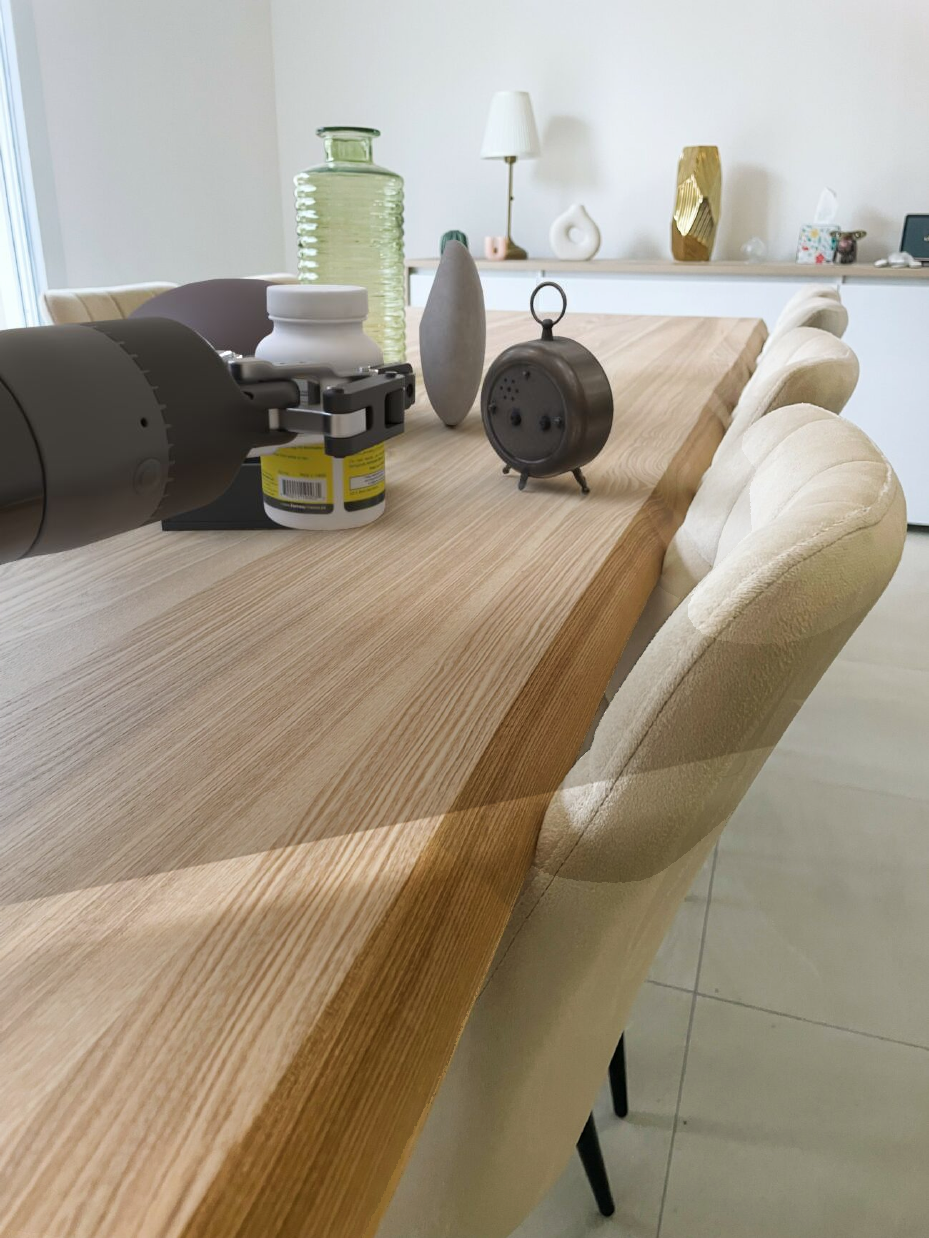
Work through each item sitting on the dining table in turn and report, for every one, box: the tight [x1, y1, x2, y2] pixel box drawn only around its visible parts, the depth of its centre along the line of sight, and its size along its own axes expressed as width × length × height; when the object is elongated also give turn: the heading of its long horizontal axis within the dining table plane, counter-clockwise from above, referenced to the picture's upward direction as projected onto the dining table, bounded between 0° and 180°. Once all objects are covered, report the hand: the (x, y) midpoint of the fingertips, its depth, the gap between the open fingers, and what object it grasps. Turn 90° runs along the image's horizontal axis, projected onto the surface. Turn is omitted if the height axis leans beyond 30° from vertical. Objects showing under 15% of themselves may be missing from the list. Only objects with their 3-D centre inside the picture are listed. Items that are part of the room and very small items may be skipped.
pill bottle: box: [255, 284, 386, 531], centre depth 45 cm, size 6×6×11 cm
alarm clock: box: [479, 281, 615, 495], centre depth 75 cm, size 11×5×16 cm, turn 48°
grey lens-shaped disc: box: [418, 239, 487, 426], centre depth 99 cm, size 18×7×19 cm, turn 1°
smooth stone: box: [126, 277, 287, 356], centre depth 94 cm, size 25×25×15 cm
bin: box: [160, 456, 298, 531], centre depth 71 cm, size 13×13×5 cm
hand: (348, 377), depth 47 cm, fingers closed on pill bottle, 6 cm apart
